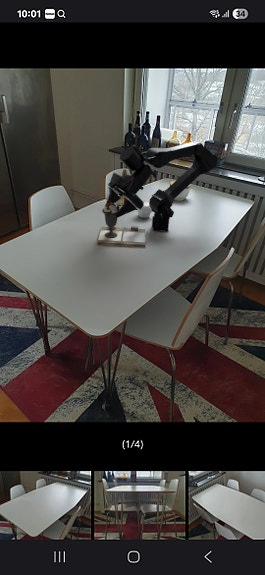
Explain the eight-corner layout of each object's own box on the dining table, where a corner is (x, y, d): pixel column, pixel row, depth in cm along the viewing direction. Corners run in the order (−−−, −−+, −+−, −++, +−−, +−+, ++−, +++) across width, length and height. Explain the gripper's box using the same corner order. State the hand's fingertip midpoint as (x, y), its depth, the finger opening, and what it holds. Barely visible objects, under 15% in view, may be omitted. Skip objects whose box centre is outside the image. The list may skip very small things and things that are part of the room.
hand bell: (112, 203, 155) (112, 169, 146) (121, 198, 161) (122, 166, 152) (127, 207, 152) (128, 173, 143) (135, 202, 158) (137, 169, 149)
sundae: (99, 236, 121) (98, 198, 113) (107, 230, 126) (107, 193, 118) (114, 240, 119) (115, 202, 110) (122, 234, 124) (123, 196, 115)
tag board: (145, 231, 130) (145, 226, 129) (145, 247, 119) (145, 241, 117) (101, 228, 130) (101, 223, 129) (97, 244, 119) (97, 239, 117)
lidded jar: (164, 196, 167) (166, 178, 162) (180, 194, 171) (183, 176, 166) (175, 203, 159) (178, 184, 154) (192, 200, 164) (195, 182, 158)
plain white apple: (133, 215, 143) (134, 198, 139) (145, 212, 147) (146, 195, 143) (143, 220, 139) (144, 203, 134) (155, 217, 143) (156, 200, 138)
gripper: (112, 158, 116) (86, 191, 118) (138, 171, 103) (107, 208, 105) (130, 177, 124) (105, 208, 126) (156, 192, 111) (127, 226, 113)
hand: (110, 212), depth 117 cm, fingers open, 9 cm apart
